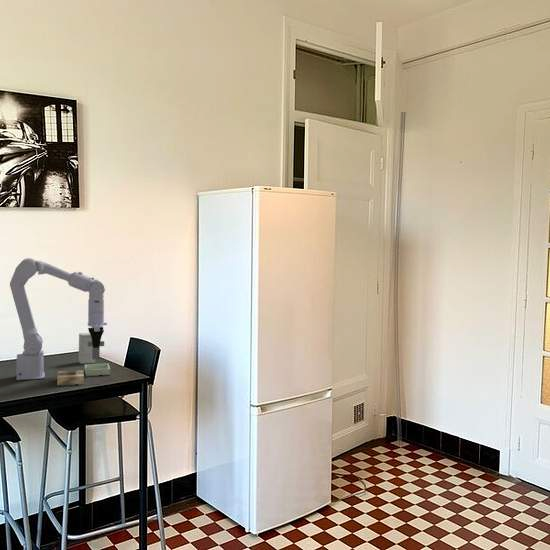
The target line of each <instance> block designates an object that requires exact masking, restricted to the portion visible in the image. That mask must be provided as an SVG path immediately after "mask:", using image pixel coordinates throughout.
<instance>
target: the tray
mask: <svg viewBox="0 0 550 550" xmlns="http://www.w3.org/2000/svg"><path fill="white" fill-rule="evenodd" d="M84 374H85V375H86V376H85V375H84V376H85V377H97V376H98V377H99V375H103V376H111V367H110V365H109V363H85V364H84Z"/></svg>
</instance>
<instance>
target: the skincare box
mask: <svg viewBox="0 0 550 550" xmlns="http://www.w3.org/2000/svg"><path fill="white" fill-rule="evenodd" d="M88 341H92V338H91V335H90V333H89V332H85V333H84V332H83V333H82V332H80V333H78V363H79V364H80V365H83V364H84V365H86V364H96V359H92V346H91V347H88Z"/></svg>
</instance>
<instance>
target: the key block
mask: <svg viewBox="0 0 550 550" xmlns="http://www.w3.org/2000/svg"><path fill="white" fill-rule="evenodd" d="M56 374H57V375H56V376H57V377H56V379H57V380H56V381H57V385H56V386H57V387H58V385H61V386H75V384H78V385H84V384H85V375H84V374H85V372H84V370H83V369H81V370H80V369H79V370H78V369H77V370H61V371H60V370H59V371H57V373H56Z"/></svg>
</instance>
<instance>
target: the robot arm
mask: <svg viewBox="0 0 550 550" xmlns="http://www.w3.org/2000/svg"><path fill="white" fill-rule="evenodd" d="M36 273H37V275H39V276H40V275H45V274H46V275H49V276H52V277H54V278H58V279H60V280H63V281H66V282H67V283H68V286H69V287H72V288H73V289H74V288H75V289H77V290H79V291H82V292H85V293H87V292H88V300H87V301H88V302H87V305H88V306H87V308H88V310H87V312H88V313H87V317H88V318H87V319H88V321H87V326H88V328H87V329H88V333H90V335H91V338H92V344H93V348H99V346H100V341H102V336H103V334H104V332H105V329H104V326H107V325H108V322H104V321H105V300H104V297H105V296H104V294H105V290H106V289H105V286H104V284H103V282H101V281H100V280H99V279H95V277H92V276H91V277H90V276H87V275H85V274H83V272H81V271H75V272H72V273H70V272H67V271H65V270H64V269H62V268H61V269H60V268H58V267H57V266H54V265H52V264H49V263H47V262H44V261H41V260H35V259H33V258H30V257H29V258H28V257H27V258H24V259H22V260H21V261H20V263H19V264H18V265H17V266H16V267H15V269H14V272H13V275H12V277H11V280H10V281H9V287H10V292H11V294H12V298H13V302H14V305H15V308H16V313H17V316H18V319H19V323H20V327H21V330H22V336H23V340H24V341H23V346H22V347H23V350H24V351H22V353H19V354H16V369H15V375H16V381H23V380H24V381H25V380H26V381H27V380H38V379H39V380H41V379H45V377H46V372H45V371H44V365H45V364H44V363H45V362H44V358H45V357H44V354H45V353H44V350H42V349H43V338H42V336H41V335H40V333H38V329H37V327H36V324H35V321H34V317H33V313H32V310H31V306H30V303H29V299H28V295H27V291H26V288H25V286H26V284H27V282H28V281H29V279H31V278H32V277H34V275H36ZM100 347H101V346H100Z"/></svg>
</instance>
